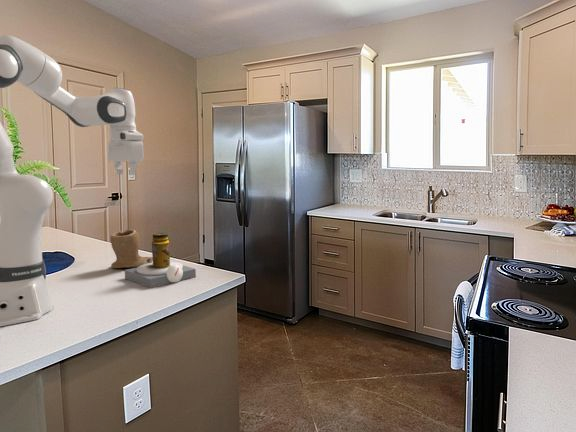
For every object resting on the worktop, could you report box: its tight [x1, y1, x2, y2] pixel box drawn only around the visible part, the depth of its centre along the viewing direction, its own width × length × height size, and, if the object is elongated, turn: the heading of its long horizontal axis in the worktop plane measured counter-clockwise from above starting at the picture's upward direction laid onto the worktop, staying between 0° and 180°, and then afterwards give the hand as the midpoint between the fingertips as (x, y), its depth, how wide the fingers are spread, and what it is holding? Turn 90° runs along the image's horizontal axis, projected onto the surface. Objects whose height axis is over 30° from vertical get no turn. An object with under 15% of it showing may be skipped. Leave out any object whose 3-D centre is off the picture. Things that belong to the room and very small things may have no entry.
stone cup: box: [109, 229, 153, 269], centre depth 173 cm, size 15×12×15 cm
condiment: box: [145, 232, 172, 270], centre depth 158 cm, size 7×8×12 cm
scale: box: [124, 261, 197, 289], centre depth 158 cm, size 18×19×6 cm
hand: (125, 174), depth 158 cm, fingers open, 8 cm apart
